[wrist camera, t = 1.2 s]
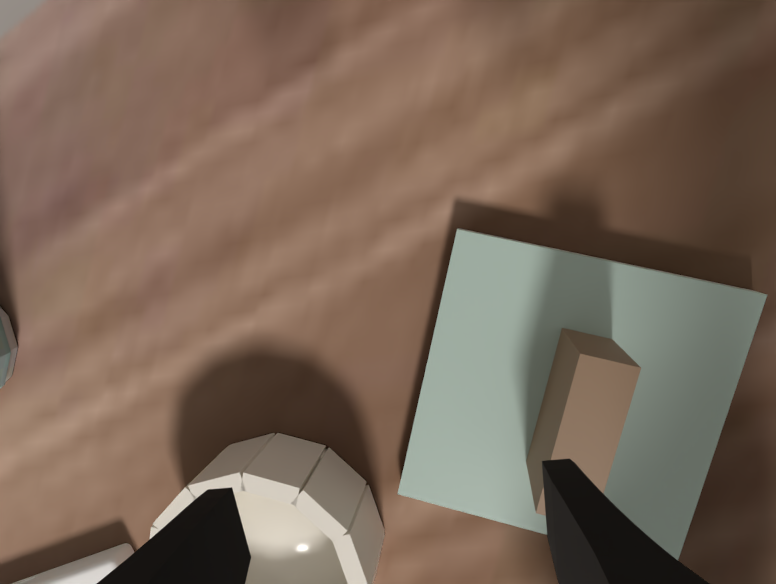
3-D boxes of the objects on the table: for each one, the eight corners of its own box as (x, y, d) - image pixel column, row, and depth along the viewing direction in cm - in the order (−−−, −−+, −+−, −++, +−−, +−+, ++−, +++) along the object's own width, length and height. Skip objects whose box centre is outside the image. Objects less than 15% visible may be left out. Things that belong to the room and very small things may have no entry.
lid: (759, 292, 22) (833, 315, 17) (669, 560, 24) (714, 643, 19) (457, 228, 23) (453, 234, 19) (399, 487, 25) (382, 548, 21)
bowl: (400, 465, 26) (386, 512, 22) (361, 640, 27) (342, 713, 24) (207, 413, 27) (161, 449, 23) (181, 586, 29) (135, 646, 25)
